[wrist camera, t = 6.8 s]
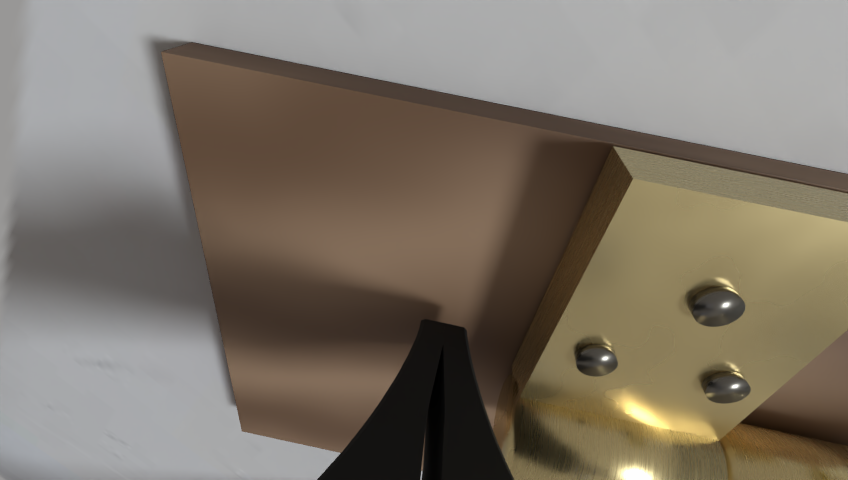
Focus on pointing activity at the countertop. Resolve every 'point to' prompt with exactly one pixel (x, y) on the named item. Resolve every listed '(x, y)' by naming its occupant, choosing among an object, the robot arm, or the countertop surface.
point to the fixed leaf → (781, 456)
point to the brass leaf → (672, 320)
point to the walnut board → (401, 234)
